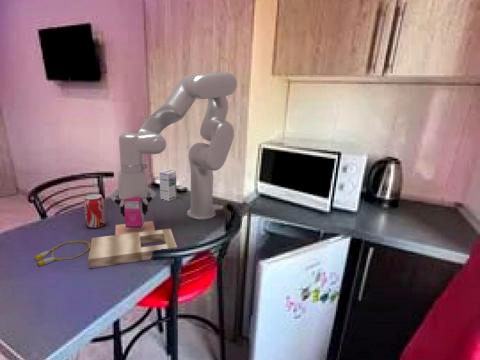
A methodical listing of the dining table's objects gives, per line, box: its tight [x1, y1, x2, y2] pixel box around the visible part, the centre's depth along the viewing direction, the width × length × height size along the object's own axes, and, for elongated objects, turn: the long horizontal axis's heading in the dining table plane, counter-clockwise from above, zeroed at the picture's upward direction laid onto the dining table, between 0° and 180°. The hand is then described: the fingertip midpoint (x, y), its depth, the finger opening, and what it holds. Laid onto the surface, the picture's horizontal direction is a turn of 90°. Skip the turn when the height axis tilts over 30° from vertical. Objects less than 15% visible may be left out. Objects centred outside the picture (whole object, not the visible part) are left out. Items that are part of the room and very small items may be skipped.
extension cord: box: [33, 240, 91, 267], centre depth 95 cm, size 12×16×2 cm
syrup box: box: [159, 169, 178, 202], centre depth 145 cm, size 6×6×14 cm
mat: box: [114, 220, 156, 235], centre depth 112 cm, size 14×12×1 cm
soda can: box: [83, 193, 107, 229], centre depth 113 cm, size 7×7×12 cm
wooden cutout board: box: [87, 228, 178, 269], centre depth 98 cm, size 26×14×3 cm, turn 111°
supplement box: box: [124, 198, 145, 228], centre depth 110 cm, size 6×6×12 cm
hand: (134, 214), depth 110 cm, fingers closed on supplement box, 6 cm apart
